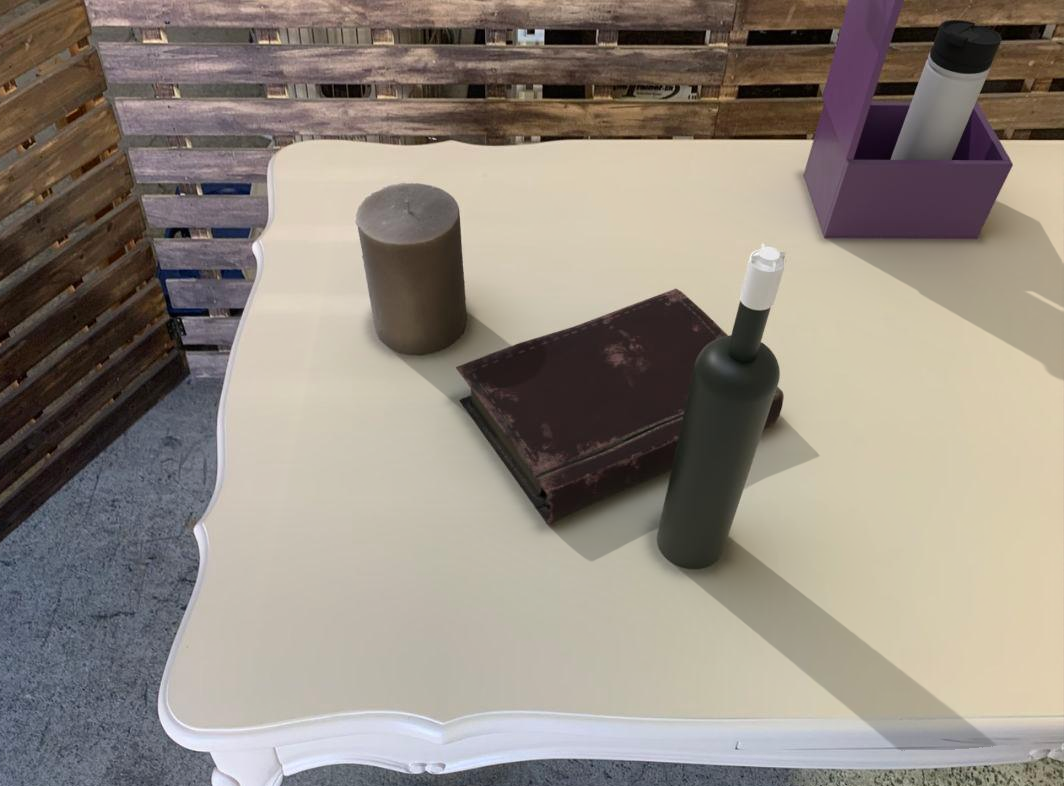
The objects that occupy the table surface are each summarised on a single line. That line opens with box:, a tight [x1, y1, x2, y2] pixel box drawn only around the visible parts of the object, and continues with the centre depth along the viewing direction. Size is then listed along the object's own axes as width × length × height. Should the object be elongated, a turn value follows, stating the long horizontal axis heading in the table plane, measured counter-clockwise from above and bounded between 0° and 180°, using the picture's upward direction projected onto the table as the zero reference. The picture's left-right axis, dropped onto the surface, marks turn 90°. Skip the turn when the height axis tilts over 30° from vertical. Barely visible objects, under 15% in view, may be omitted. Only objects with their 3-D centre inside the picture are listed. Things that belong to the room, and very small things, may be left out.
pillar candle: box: [355, 182, 468, 356], centre depth 88 cm, size 10×10×15 cm
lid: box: [821, 0, 905, 159], centre depth 91 cm, size 18×13×5 cm
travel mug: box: [891, 19, 1003, 160], centre depth 98 cm, size 6×7×20 cm
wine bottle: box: [656, 242, 787, 570], centre depth 66 cm, size 6×6×30 cm
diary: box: [455, 288, 785, 525], centre depth 85 cm, size 19×25×5 cm
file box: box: [803, 101, 1014, 240], centre depth 103 cm, size 18×13×10 cm
